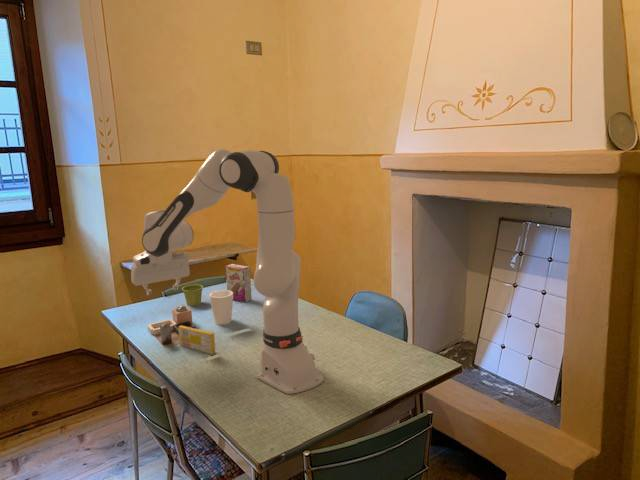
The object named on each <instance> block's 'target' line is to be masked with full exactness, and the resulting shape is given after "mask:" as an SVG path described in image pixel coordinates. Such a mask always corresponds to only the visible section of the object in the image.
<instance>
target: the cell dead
mask: <svg viewBox="0 0 640 480" xmlns="http://www.w3.org/2000/svg"><path fill="white" fill-rule="evenodd" d="M176 309H177V312H178V313H179V312H183V311H186V306H185V305H179V306H178V307H176Z"/></svg>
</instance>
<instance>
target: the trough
mask: <svg viewBox="0 0 640 480" xmlns="http://www.w3.org/2000/svg"><path fill="white" fill-rule="evenodd" d="M163 323H170V327H171V331H172V330H173V325H176V324H177V323H176V322H175V321H174V320H173V319H170V318H169V319H164V320H161V321H157V322H152V323H148V325H147V326H146V327H147V331H148V332H149V333H150V335H153V334H154V335H156V334H160V333H161V331H160V328H159V327H160V325H161V324H163ZM155 328H156V329H155ZM154 335H153V336H154Z"/></svg>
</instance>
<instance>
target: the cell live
mask: <svg viewBox="0 0 640 480" xmlns="http://www.w3.org/2000/svg"><path fill="white" fill-rule="evenodd" d="M160 331H161V341H162V344H163V345H167V344H170V343H172V338H171V327H170V323H163V324H161V325H160ZM162 344H161V345H162ZM163 345H162V346H163Z"/></svg>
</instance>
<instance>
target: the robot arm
mask: <svg viewBox="0 0 640 480" xmlns="http://www.w3.org/2000/svg"><path fill="white" fill-rule="evenodd" d="M279 171H280V165H279V161H278V159H277V157H276V156H275V155H274V154H272V153H271V152H269V151H265V150H243V151H234V152H231V151H230V150H227V149H222V148H219V149H216V150H215V151H212V153H211V154H210V155H209V156H208V157H207V158H206V160H205V161H204V162H203V163H202V164H201V166H200V167H199V169H198V170H197V172H196V173H195V174H194V176H193V177H192V178H191V180H190V181H189V182H188V184H187V185H186V186H185V187H184V188H183V189H182V190H181V191H180V192H179V193H178V195H177V196H176V197H175V198H174V199H173V200H172V202H171V203H170V204H169V205H168V206H167V208H166V209H161V210H155V211H150V212H147V213H146V214H145V215H144V217H143V234H142V236H141V241H142V242H141V244H142V246H143V247H142V248H143V249H144V251H143V252H140V253H138V254H136V255H134V256H132V262H133V264H132V266H131V269H130V279H131V283H132V284H133V285H134V286H135V287H137V286H142V287H143V288H144V290H145V291H146V295H147V296H152V295H153V290H152V289H150V288H148V287H149V284H153V283H154V284H155V283H159V282H160V283H161V282H164V281H170V280H175V283H174V284H173V285H172V290H173V291H178V290H179V285H180V283H181V279H182V278H186V277H187V278H188V277H189V276H190V274H191V271H190V265H189V261H190V258H189V255H188V253H187V252H184V251H181V252H175V251H177V250H181V249H184V248H186V247H188V246H190V245H192V243H193V240H194V234H195V233H194V230H193V228H192V226H191V225H190V224H189V223H188V222H187V221H185V220H186V219H187V218H189V216H191V215H193V214H195V213H197V212H199V211H202V210H205V209H207V208H210V207H212V206H215V205H216V204H217V203H218V202H220V201H221V199H223V197H224V196H225V195H226V194H227V192H228V190H229V189H230V188H233V189H237V190H239V191H242V192H244V193H250V192H253V193H254V195H255V198H256V207H257V208H256V210H257V211H256V212H257V213H256V214H257V228H258V242H257V250H256V251H257V253H256V260H255V270H254V276H253V285H254V288H255V290H256V291H257V292H258V293H259V294H260V295H262V296H264V301H263V305H262V310H263V311H262V312H263V315H262V316H263V317H262V318H263V331H262V339H263V346H262V349H261V351H260V358H259V359H260V360H259V361H260V362H259V363H260V367H259V368H260V369H259V372H258V373H257V374H256V378H257V379H258V380H260V381H262V382H264V383H265V384H267V385H269V386H271V387H273V388H275V389H276V390H278V391H281V392H282V393H284V394H286V395H291V394H297V393H302V392H305V391H308V390H310V389H313V388H315V387H318V386H319V385H320V384H322V383H323V382H324V376H323V375H322V373H320V371H319V370H318V369H317V368H316V363H315V359H316V358H315V357H316V356H315V354H314V353H310V351H309V350H308V347H307V345H306V346H305V344H304V341H303V337H304V336H303V335H302V332H301V328H300V326H299V296H300V282H301V267H302V260H301V258H300V255H299V254H298V253H297V252H296V251H294V250H293V249H294V241H295V235H296V229H295V227H296V226H295V211H294V209H295V208H294V198H293V191H292V187H291V182H290V180H289V178H288V177H287V176H285V175H284V174H282V173H279ZM173 252H174V253H173Z"/></svg>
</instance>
